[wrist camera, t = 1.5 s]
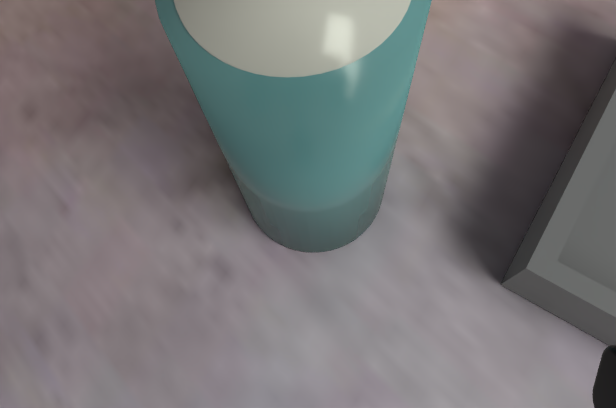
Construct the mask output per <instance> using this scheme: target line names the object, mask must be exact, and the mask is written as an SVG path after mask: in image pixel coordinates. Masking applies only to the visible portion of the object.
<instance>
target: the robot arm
mask: <svg viewBox="0 0 616 408" xmlns="http://www.w3.org/2000/svg"><path fill="white" fill-rule="evenodd" d="M593 403H594V407H595V408H616V345H611V346H608V347H607V348H606V349H605V350H604V352H603V354H602V357H601V361H600V365H599V368H598V372H597V376H596V379H595V383H594V387H593Z"/></svg>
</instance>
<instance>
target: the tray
mask: <svg viewBox="0 0 616 408" xmlns="http://www.w3.org/2000/svg"><path fill="white" fill-rule="evenodd" d="M501 285H502V286H504V287H506V288H508V289H509V290H511V291H513V292H515V293H516V294H518V295H520V296H522V297H524V298H525V299H527V300H529V301H531V302H533V303H534V304H536V305H538V306H540V307H542V308H543V309H545V310H547V311H549V312H550V313H552V314H554V315H556V316H558V317H559V318H561V319H563V320H565V321H567V322H568V323H570V324H572V325H574V326H576V327H577V328H579V329H581V330H583V331H585V332H586V333H588V334H590V335H592V336H593V337H595V338H597V339H599V340H601V341H602V342H604V343H606V344H608V345H610V346H611V345H616V59H615V61H614V63H613V65H612V67H611V69H610V71H609V73H608V75H607V77H606V79H605V81H604V83H603V85H602V87H601V89H600V91H599V92H598V94H597V96H596V98H595V100H594V102H593V104H592V106H591V108H590V110H589V112H588V114H587V116H586V118H585V120H584V122H583V124H582V126H581V128H580V130H579V132H578V134H577V136H576V138H575V140H574V141H573V143H572V145H571V147H570V149H569V151H568V153H567V155H566V157H565V159H564V161H563V163H562V165H561V167H560V169H559V171H558V173H557V175H556V177H555V179H554V181H553V183H552V185H551V187H550V189H549V190H548V192H547V194H546V196H545V198H544V200H543V202H542V204H541V206H540V208H539V210H538V212H537V214H536V216H535V218H534V220H533V222H532V224H531V226H530V228H529V230H528V232H527V234H526V236H525V237H524V239H523V241H522V243H521V245H520V247H519V249H518V251H517V253H516V255H515V257H514V259H513V261H512V263H511V265H510V267H509V269H508V271H507V273H506V275H505V277H504V279H503V281H502V283H501Z"/></svg>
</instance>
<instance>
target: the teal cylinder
mask: <svg viewBox="0 0 616 408" xmlns="http://www.w3.org/2000/svg"><path fill="white" fill-rule="evenodd" d="M155 3H156V7H157V11H158V15H159V19H160V21H161V23H162V26H163V28H164V30H165V32H166V34H167V37H168V39H169V41H170V43H171V45H172V47H173V49H174V51H175V53H176V56H177V58H178V60H179V62H180V64H181V66H182V68H183V70H184V72H185V75H186V77H187V79H188V81H189V83H190V85H191V87H192V89H193V91H194V94H195V96H196V98H197V100H198V102H199V104H200V106H201V108H202V110H203V113H204V115H205V117H206V119H207V121H208V123H209V125H210V127H211V130H212V132H213V134H214V136H215V138H216V140H217V142H218V144H219V146H220V149H221V151H222V153H223V155H224V157H225V159H226V161H227V163H228V165H229V168H230V170H231V172H232V174H233V176H234V178H235V180H236V182H237V184H238V187H239V189H240V191H241V193H242V195H243V197H244V199H245V201H246V203H247V206H248V208H249V210H250V212H251V214H252V216H253V218H254V220H255V221H256V223H257V224H258V226H259V227H260V228H261V229H262V231H263V232H264V233H265V234H267V235H268V236H269V237H270V238H271V239H273V240H274V241H276V242H277V243H279V244H281V245H283V246H285V247H288V248H290V249H293V250H298V251H302V252H325V251H331V250H334V249H337V248H340V247H342V246H345V245H347V244H349V243H350V242H352V241H354V240H355V239H357V238H358V237H359V236H360V235H361V234H363V233H364V232H365V231H366V229H367V228H368V227H369V226H370V225H371V223H372V222H373V220H374V219H375V217H376V215H377V213H378V211H379V208H380V205H381V202H382V198H383V194H384V190H385V186H386V182H387V178H388V174H389V170H390V166H391V162H392V158H393V154H394V149H395V145H396V141H397V137H398V133H399V129H400V125H401V121H402V117H403V113H404V109H405V105H406V101H407V97H408V93H409V89H410V85H411V81H412V77H413V73H414V69H415V65H416V61H417V57H418V53H419V49H420V45H421V41H422V37H423V33H424V29H425V25H426V21H427V17H428V13H429V9H430V5H431V0H155Z"/></svg>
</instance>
